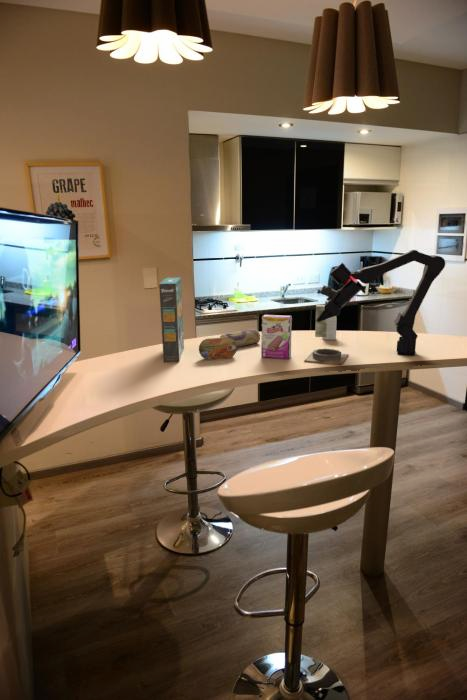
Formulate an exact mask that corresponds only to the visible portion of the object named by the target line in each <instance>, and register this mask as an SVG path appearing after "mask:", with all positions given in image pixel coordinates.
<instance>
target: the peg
mask: <svg viewBox="0 0 467 700" xmlns="http://www.w3.org/2000/svg"><path fill="white" fill-rule="evenodd" d="M324 310H325V304H316V306H315V326H314V327H315V331H314V333H315V334H314V337H315V338H322V337H326V335H327V319H325V320H323V321H320V322H318V321H317V319H318V318H319V316H320V315H321V314H322V312H323V311H324Z"/></svg>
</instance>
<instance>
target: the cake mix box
mask: <svg viewBox="0 0 467 700" xmlns="http://www.w3.org/2000/svg"><path fill="white" fill-rule="evenodd" d="M158 287H159V301H160V303H159V304H160V321H161V322H160V323H161V337H162V355H163V356H162V358H163V363H180V361H181V358H182V356H183V352H184V349H185V341H184V339H185V338H184V320H183V318H184V315H183V314H184V313H183V295H182V277H165V278H163V280H162V281H160V282H159V284H158Z"/></svg>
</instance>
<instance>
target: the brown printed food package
mask: <svg viewBox="0 0 467 700" xmlns="http://www.w3.org/2000/svg"><path fill="white" fill-rule="evenodd" d="M237 351H238V347H237V344H236V342H235V340H233V339H232V338H229V337H220V336H219V337H210V338H205V339H203V340H202V341H201V342H200V343H199V346H198V352H199V354H200V356H201V357H202V359H204V360H206V361H215V360H224V359H226V360H227V359H230V358H232V357H233V358H234V356H235V354H236V353H237Z"/></svg>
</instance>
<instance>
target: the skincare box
mask: <svg viewBox="0 0 467 700" xmlns="http://www.w3.org/2000/svg"><path fill="white" fill-rule="evenodd" d="M337 317H338V316H337ZM337 317H336V316H334V317H331V318H328V319H327V335H326V337H321V338H322V340H337V320H338V319H337Z"/></svg>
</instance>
